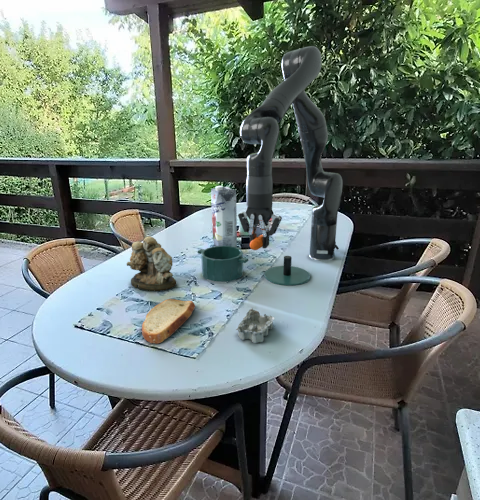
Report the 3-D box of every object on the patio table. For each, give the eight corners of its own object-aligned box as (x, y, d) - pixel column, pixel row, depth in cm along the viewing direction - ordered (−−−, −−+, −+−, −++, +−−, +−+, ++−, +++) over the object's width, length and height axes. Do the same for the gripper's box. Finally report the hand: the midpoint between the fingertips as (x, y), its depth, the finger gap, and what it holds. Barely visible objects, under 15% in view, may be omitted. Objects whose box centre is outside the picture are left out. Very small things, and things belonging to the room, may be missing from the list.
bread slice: (147, 347, 92) (146, 334, 91) (131, 314, 108) (130, 303, 107) (212, 329, 99) (211, 317, 98) (188, 301, 114) (187, 290, 113)
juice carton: (229, 242, 166) (228, 182, 157) (238, 249, 157) (238, 186, 147) (211, 245, 163) (209, 184, 154) (219, 252, 154) (217, 188, 145)
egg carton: (251, 319, 103) (251, 306, 102) (276, 326, 99) (277, 312, 98) (233, 337, 95) (233, 324, 93) (260, 346, 91) (260, 332, 89)
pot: (211, 262, 144) (210, 242, 141) (256, 272, 133) (256, 251, 130) (188, 276, 133) (187, 254, 130) (235, 288, 122) (235, 264, 119)
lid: (276, 265, 138) (276, 246, 136) (316, 274, 129) (317, 253, 127) (256, 280, 126) (256, 260, 124) (299, 291, 118) (300, 269, 115)
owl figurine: (121, 287, 126) (114, 240, 120) (138, 274, 136) (133, 230, 130) (168, 294, 120) (163, 245, 114) (182, 279, 130) (179, 234, 124)
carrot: (263, 240, 117) (263, 230, 116) (272, 241, 115) (273, 232, 114) (247, 250, 109) (247, 240, 108) (257, 252, 107) (257, 242, 106)
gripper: (287, 189, 104) (286, 246, 110) (244, 186, 112) (245, 239, 118) (276, 194, 99) (275, 254, 105) (231, 191, 106) (233, 246, 112)
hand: (259, 246), depth 111 cm, fingers closed on carrot, 3 cm apart
